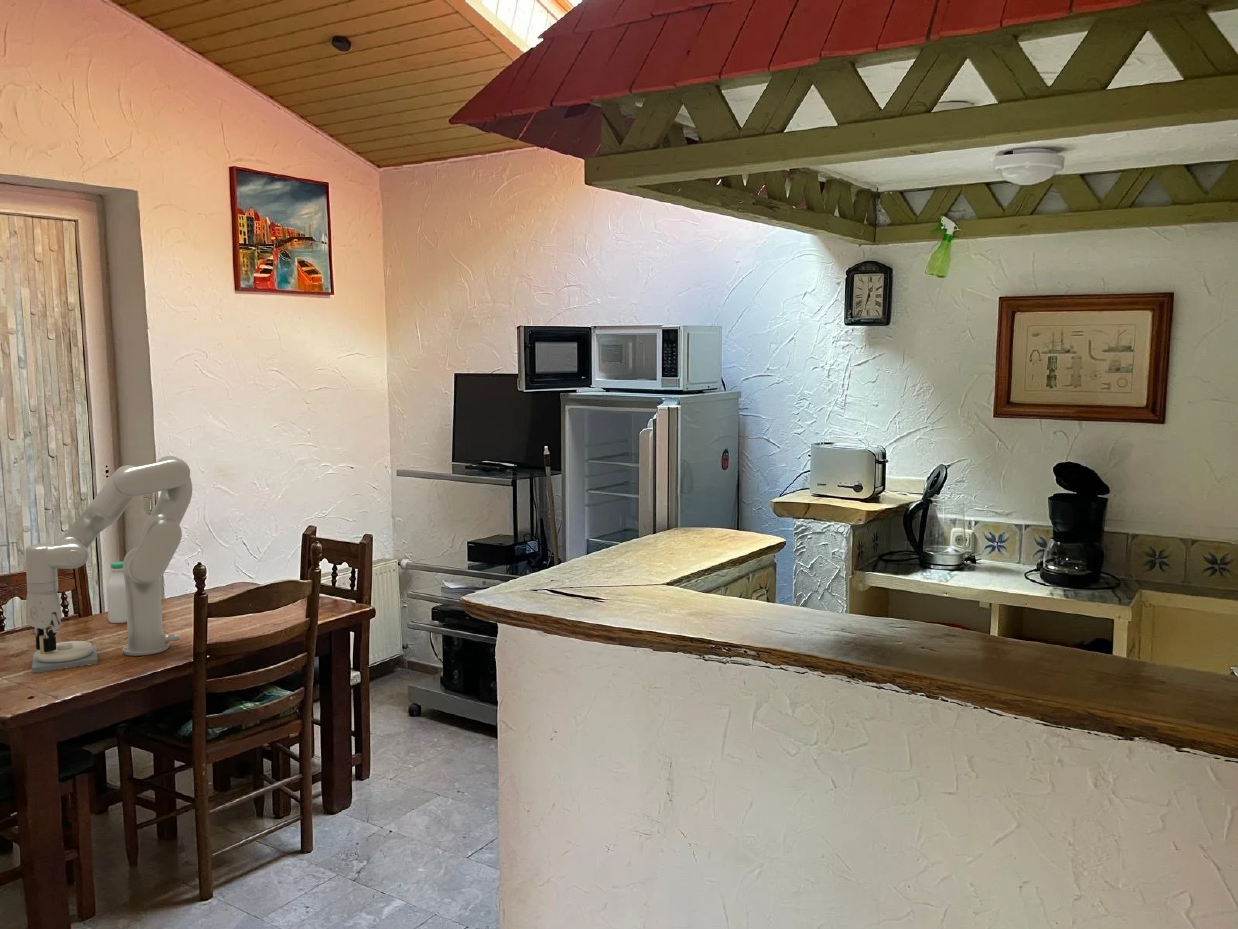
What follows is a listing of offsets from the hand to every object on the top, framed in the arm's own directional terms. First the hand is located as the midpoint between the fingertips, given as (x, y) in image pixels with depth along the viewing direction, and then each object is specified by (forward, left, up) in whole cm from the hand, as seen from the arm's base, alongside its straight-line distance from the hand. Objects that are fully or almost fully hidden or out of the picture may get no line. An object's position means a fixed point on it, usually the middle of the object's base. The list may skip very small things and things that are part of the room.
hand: (46, 649), depth 263 cm
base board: (-5, -2, -5) cm, 7 cm away
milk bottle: (-21, -42, -5) cm, 47 cm away
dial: (-5, -2, -3) cm, 6 cm away
